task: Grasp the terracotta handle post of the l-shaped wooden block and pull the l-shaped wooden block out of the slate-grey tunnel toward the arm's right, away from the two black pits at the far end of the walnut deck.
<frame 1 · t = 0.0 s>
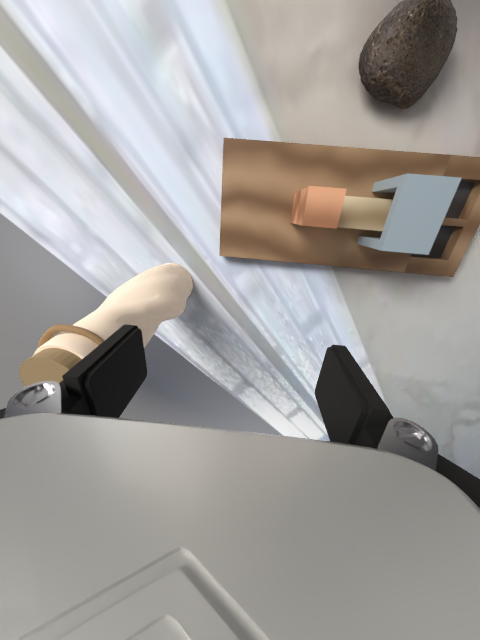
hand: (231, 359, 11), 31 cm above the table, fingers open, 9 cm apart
l-shaped wooden block: (366, 213, 29), point 7 cm above the table, slide at 0.0 cm
stone: (391, 68, 28), on the table
deck: (372, 215, 35), on the table
tunnel: (378, 216, 35), resting on deck
water bottle: (173, 286, 43), on the table
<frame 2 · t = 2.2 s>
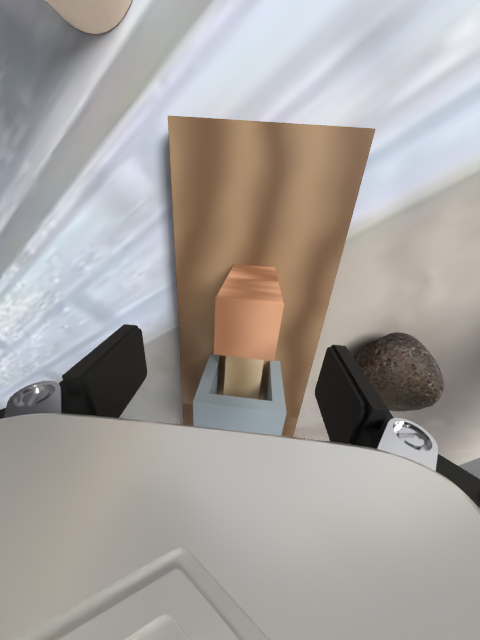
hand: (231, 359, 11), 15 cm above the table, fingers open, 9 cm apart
l-shaped wooden block: (243, 370, 21), point 7 cm above the table, slide at 0.0 cm
stone: (378, 358, 28), on the table
deck: (244, 360, 29), on the table
tunnel: (244, 366, 30), resting on deck
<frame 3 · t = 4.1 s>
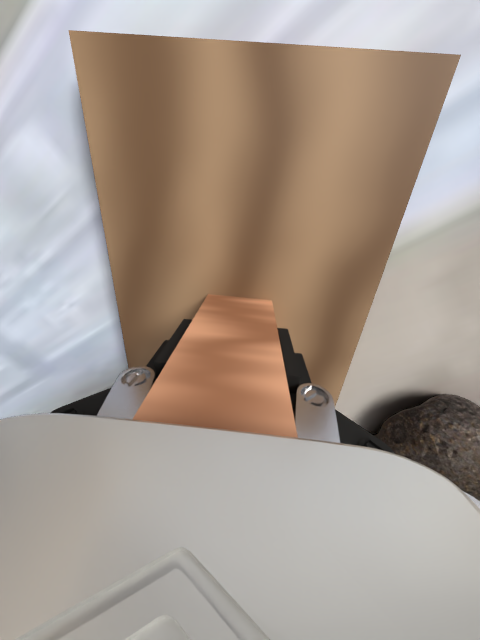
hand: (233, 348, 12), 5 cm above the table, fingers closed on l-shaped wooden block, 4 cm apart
l-shaped wooden block: (223, 468, 13), point 7 cm above the table, slide at 0.0 cm, touching gripper
stone: (412, 418, 20), on the table
deck: (231, 418, 21), on the table
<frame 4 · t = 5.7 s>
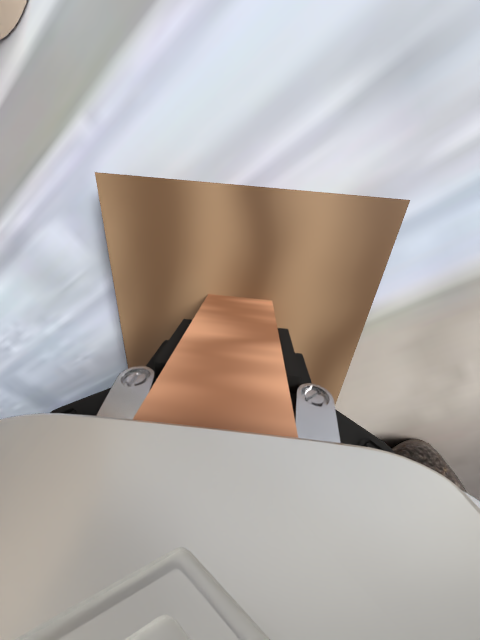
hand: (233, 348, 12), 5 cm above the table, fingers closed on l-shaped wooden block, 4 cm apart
l-shaped wooden block: (222, 468, 13), point 7 cm above the table, slide at 5.0 cm, touching gripper
stone: (387, 456, 23), on the table
deck: (227, 451, 23), on the table
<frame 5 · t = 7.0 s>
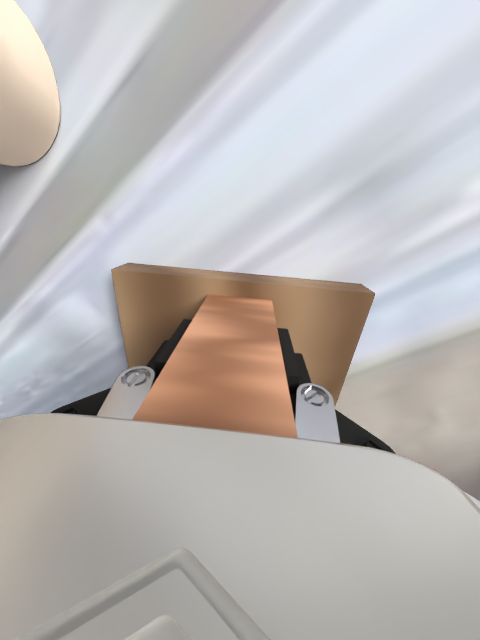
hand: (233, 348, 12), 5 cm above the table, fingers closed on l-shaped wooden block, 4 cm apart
l-shaped wooden block: (223, 468, 13), point 7 cm above the table, slide at 10.0 cm, touching gripper
deck: (226, 479, 25), on the table
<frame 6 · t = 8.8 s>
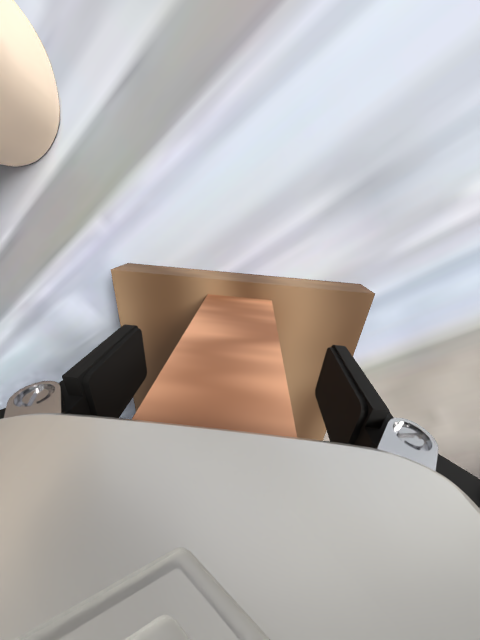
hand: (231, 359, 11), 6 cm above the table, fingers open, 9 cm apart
l-shaped wooden block: (222, 468, 13), point 7 cm above the table, slide at 10.0 cm
deck: (225, 479, 25), on the table
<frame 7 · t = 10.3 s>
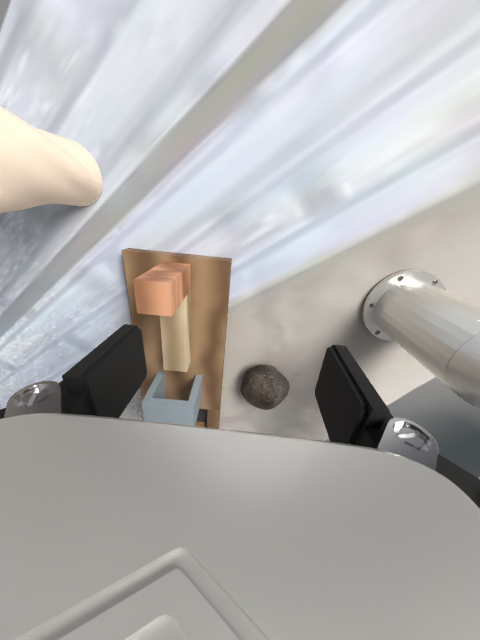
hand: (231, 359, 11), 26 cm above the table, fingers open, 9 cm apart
l-shaped wooden block: (169, 331, 32), point 7 cm above the table, slide at 10.0 cm
stone: (261, 377, 45), on the table
deck: (183, 374, 45), on the table
tunnel: (183, 378, 45), resting on deck
water bottle: (69, 174, 30), on the table
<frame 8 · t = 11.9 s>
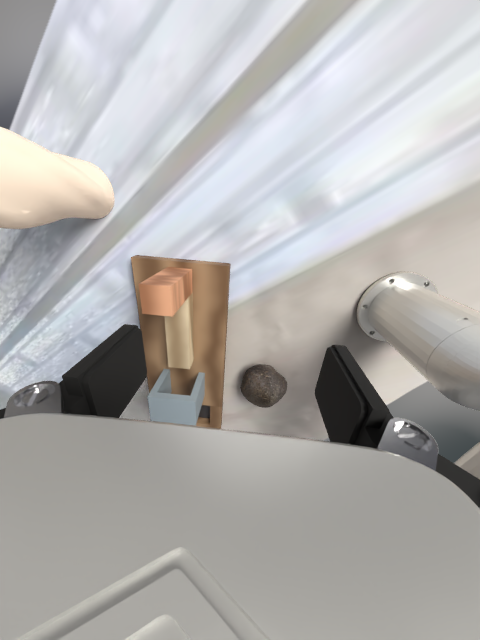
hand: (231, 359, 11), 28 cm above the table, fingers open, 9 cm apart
l-shaped wooden block: (172, 330, 35), point 7 cm above the table, slide at 10.0 cm
stone: (261, 377, 48), on the table
deck: (187, 372, 48), on the table
tunnel: (187, 375, 48), resting on deck
water bottle: (85, 191, 34), on the table
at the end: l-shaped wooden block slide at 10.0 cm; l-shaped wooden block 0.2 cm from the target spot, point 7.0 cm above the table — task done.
